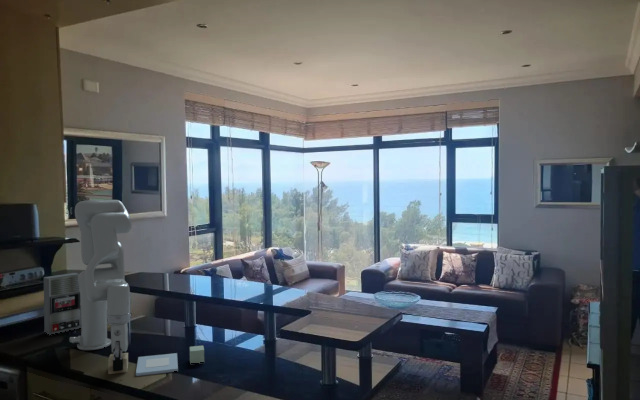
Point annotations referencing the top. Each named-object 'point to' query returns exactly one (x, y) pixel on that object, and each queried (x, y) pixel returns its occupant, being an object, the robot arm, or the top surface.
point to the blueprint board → (157, 364)
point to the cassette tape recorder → (62, 303)
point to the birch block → (125, 364)
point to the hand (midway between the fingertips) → (119, 365)
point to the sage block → (196, 354)
